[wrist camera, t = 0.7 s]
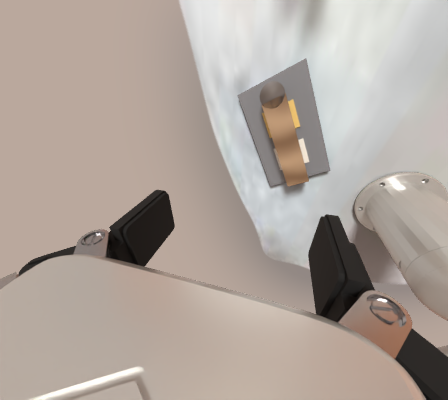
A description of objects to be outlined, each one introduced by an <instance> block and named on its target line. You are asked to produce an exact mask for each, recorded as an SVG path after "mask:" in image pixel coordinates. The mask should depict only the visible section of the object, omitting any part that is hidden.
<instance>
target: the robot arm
mask: <svg viewBox="0 0 448 400" xmlns="http://www.w3.org/2000/svg"><path fill="white" fill-rule="evenodd" d="M354 211H355V215H356V217H357V219H358V220H359V222H360V223H361V224H362V225H363V226H364V227H366V228H367V229H369V230H371V231H374V232H377V234H378V236H379V237H380V239H381V241H382V242H383V244H384V245H385V247H386V249H387V250H388V252H389V254H390V255H391V257H392V259H393V260H394V262H395V264H396V265H397V267H398V269H399V270H400V272H401V274H402V275H403V277H404V279H405V280H406V282H407V284H408V285H409V287H410V288H411V290H412V292H413V293H414V294H415V296H416V297H417V298H418V300H419V301H420V302H421V303H422V304H423V305H425V306H426V307H427V308H428V309H429V310H431V311H432V312H434V313H435V314H437V315H438V316H440V317H442V318H443V319H445V320H447V321H448V193H447V191H446V188H445V187H444V186H443V185H442V184H441V183H440V182H439V181H437V180H436V179H434V178H432V177H430V176H428V175H425V174H422V173H415V172H401V173H395V174H391V175H387V176H384V177H382V178H380V179H377V180H375V181H374V182H372V183H371V184H369V185H368V186H367V187H365V188H364V189H363V190H362V191H361V193H360V194H359V195H358V197H357V199H356V201H355V205H354ZM173 229H174V220H173V215H172V210H171V205H170V200H169V195H168V194H167V193H166V191H161V190H156V191H154V192H153V193H152V194H150V195H149V196H148V197H147V198H146V199H144V200H143V201H142V202H140V203H139V204H138V205H137V206H135V207H134V208H133V209H132V210H130V211H129V212H128V213H126V214H125V215H124V216H123V217H122V218H120V219H119V220H118V221H116V222H115V223H114V224H113V225H111V226H110V230H111V231H110V232H109V233H108V231H106V230H100V229H99V230H94V231H91V232H89V233H87V234H85V235H84V236H82V237H81V238H80V239H79V241H78V242H77V245H76V246H74V247H70V248H67V249H64V250H61V251H58V252H54V253H51V254H47V255H44V256H41V257H38V258H35V259H33V260H31V261H30V262H29V263H28V264H26V265H25V266H24V267H23V268H22V269H21V270H20V272H19V274H17V273H16V272H15V273H13V274H10V275H8V276H6V277H4V278H2V279H0V400H448V346H443V347H438V348H436V347H435V346H434V345H432V344H431V343H429V342H428V341H427V340H426V339H425V338H423V337H422V336H421V335H419V334H418V333H417V332H416V331H414V330H413V329H412V320H411V317H410V315H409V314H408V312H407V310H406V309H405V308H404V307H403V306H402V305H401V304H400V303H398V301H396V300H395V299H394V298H392V297H390V296H388V295H387V294H385V293H382V292H379V291H375V289H374V287H373V285H372V283H371V280H370V278H369V276H368V274H367V271H366V269H365V267H364V264H363V262H362V260H361V258H360V255H359V253H358V251H357V249H356V247H355V245H354V244H353V243H349V240H348V238H347V235H346V233H345V231H344V228H343V226H342V223H341V221H340V218H339V217H338V216H334V215H327V214H326V215H325V217H321V218H320V221H319V224H318V227H317V230H316V232H315V235H314V238H313V241H312V244H311V247H310V250H309V255H308V257H309V265H310V272H311V279H312V286H313V294H314V301H315V308H316V314H313V313H310V312H307V311H304V310H300V309H297V308H294V307H290V306H287V305H283V304H280V303H277V302H273V301H270V300H266V299H262V298H259V297H255V296H251V295H248V294H244V293H240V292H237V291H233V290H229V289H226V288H222V287H218V286H215V285H211V284H207V283H204V282H200V281H196V280H192V279H189V278H185V277H181V276H177V275H174V274H170V273H166V272H162V271H158V270H155V269H151V268H147V267H145V265H146V264H147V263H148V261H149V260H150V259H151V258H152V256H153V255H154V254H155V252H156V251H157V250H158V249H159V247H160V246H161V245H162V243H163V242H164V241H165V240H166V238H167V237H168V236H169V235H170V233H171V232H172V231H173Z"/></svg>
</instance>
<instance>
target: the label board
mask: <svg viewBox="0 0 448 400" xmlns="http://www.w3.org/2000/svg"><path fill="white" fill-rule="evenodd" d="M271 81H277V82H279V83H281V84H282V85H283V87H284V89H285V93H286V96H287V100H288V104H289V107H290V111H291V115H292V119H293V122H294V126H295V130H296V134H297V137H298V141H299V145H300V148H301V152H302V156H303V160H304V163H305V167H306V171H307V175H308V176H311V175H315V174H319V173H323V172H327V171H330V167H329V162H328V158H327V153H326V148H325V144H324V139H323V134H322V130H321V125H320V121H319V116H318V111H317V107H316V102H315V97H314V93H313V88H312V83H311V79H310V74H309V69H308V65H307V60H306V59H304V60H302V61H300V62H298V63H297V64H295V65H293V66H291V67H289V68H287V69H286V70H284V71H282V72H280V73H278V74H276V75H274V76H273V77H271V78H269V79H267V80H265V81H263V82H262V83H260V84H258V85H256V86H254V87H252V88H250V89H249V90H247V91H245V92H243V93H241V94H239V95H238V98H239V101H240V103H241V106H242V109H243V112H244V114H245V117H246V120H247V123H248V125H249V128H250V131H251V134H252V137H253V139H254V142H255V145H256V148H257V150H258V153H259V156H260V159H261V161H262V164H263V167H264V170H265V173H266V175H267V178H268V181H269V184H270V186H273V185H277V184H281V183H285V182H286V179H285V176H284V173H283V170H282V167H281V164H280V161H279V158H278V155H277V151H276V148H275V145H274V142H273V139H272V136H271V133H270V130H269V127H268V123H267V120H266V117H265V114H264V111H263V108H262V104H261V102H260V92H261V90H262V88H263V86H264V85H265V84H267V83H268V82H271Z"/></svg>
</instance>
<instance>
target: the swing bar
mask: <svg viewBox="0 0 448 400" xmlns="http://www.w3.org/2000/svg"><path fill="white" fill-rule="evenodd" d="M260 102H261V104H262V108H263V111H264V114H265V117H266V120H267V123H268V127H269V130H270V133H271V136H272V139H273V142H274V145H275V148H276V151H277V155H278V158H279V161H280V164H281V167H282V170H283V173H284V176H285V179H286V183H287V186H292V185H296V184H300V183H304V182H308V181H309V179H308V175H307V171H306V167H305V163H304V160H303V156H302V152H301V148H300V145H299V141H298V137H297V134H296V130H295V126H294V122H293V119H292V115H291V111H290V107H289V104H288V100H287V96H286V93H285V89H284V87H283V85H282V84H281V83H279V82H277V81H271V82H268V83H267V84H265V85H264V86H263V88H262V90H261V92H260Z"/></svg>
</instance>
